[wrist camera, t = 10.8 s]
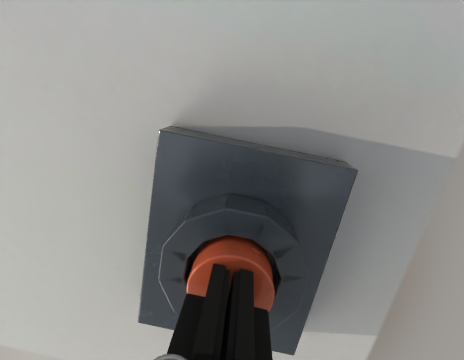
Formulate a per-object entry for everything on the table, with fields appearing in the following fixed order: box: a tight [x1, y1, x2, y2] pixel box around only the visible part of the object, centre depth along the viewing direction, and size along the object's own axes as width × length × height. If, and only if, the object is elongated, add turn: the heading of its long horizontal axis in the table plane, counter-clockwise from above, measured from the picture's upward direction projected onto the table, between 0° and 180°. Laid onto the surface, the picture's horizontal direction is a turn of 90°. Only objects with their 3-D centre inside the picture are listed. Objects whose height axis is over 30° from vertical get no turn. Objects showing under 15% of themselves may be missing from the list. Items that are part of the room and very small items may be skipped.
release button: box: [186, 235, 275, 312], centre depth 12 cm, size 4×4×2 cm
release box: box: [138, 126, 358, 355], centre depth 14 cm, size 11×9×4 cm
